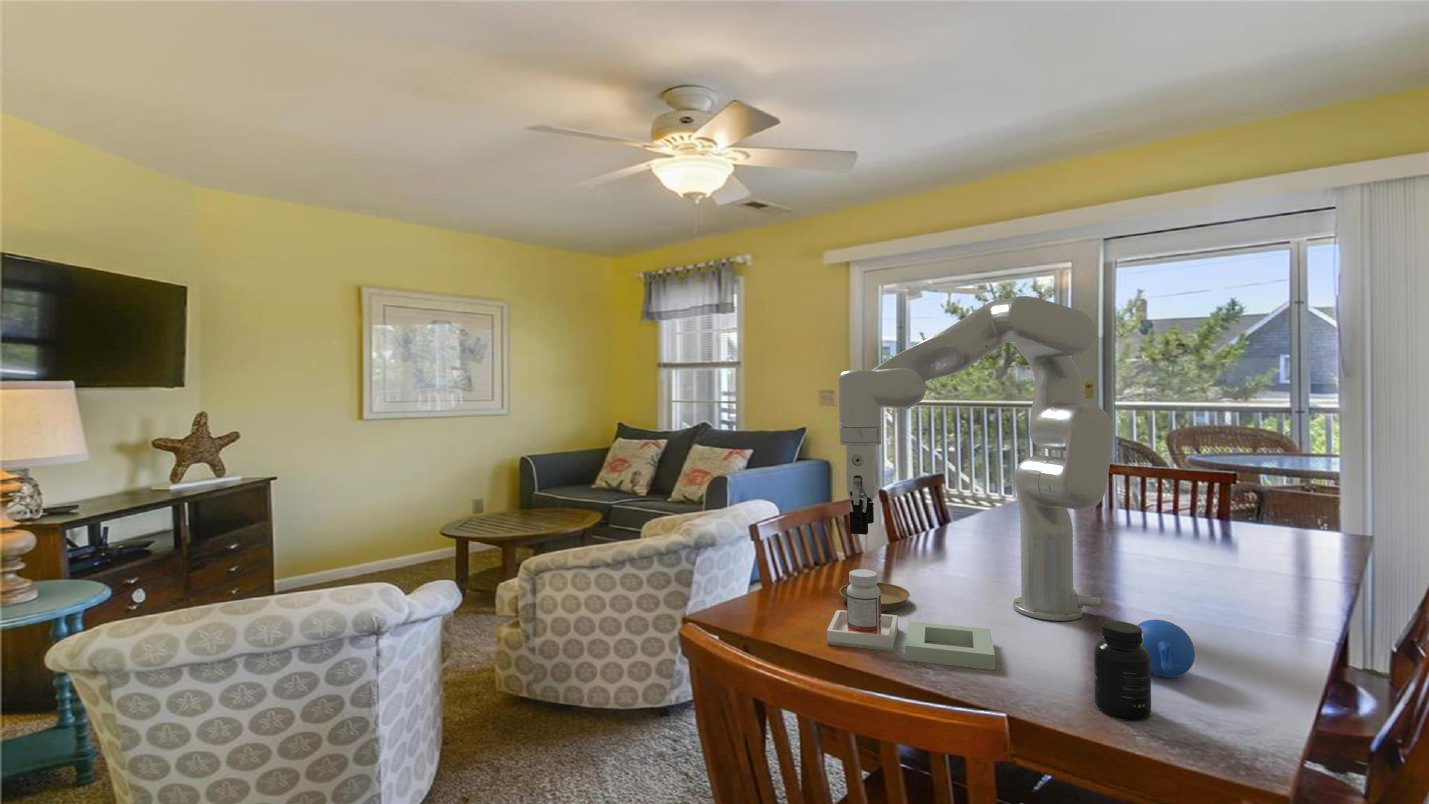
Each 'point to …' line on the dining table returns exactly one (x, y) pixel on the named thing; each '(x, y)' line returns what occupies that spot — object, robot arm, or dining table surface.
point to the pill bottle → (863, 602)
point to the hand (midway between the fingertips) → (862, 528)
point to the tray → (843, 637)
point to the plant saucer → (886, 595)
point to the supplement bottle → (1122, 672)
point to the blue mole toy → (1167, 648)
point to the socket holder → (950, 655)
